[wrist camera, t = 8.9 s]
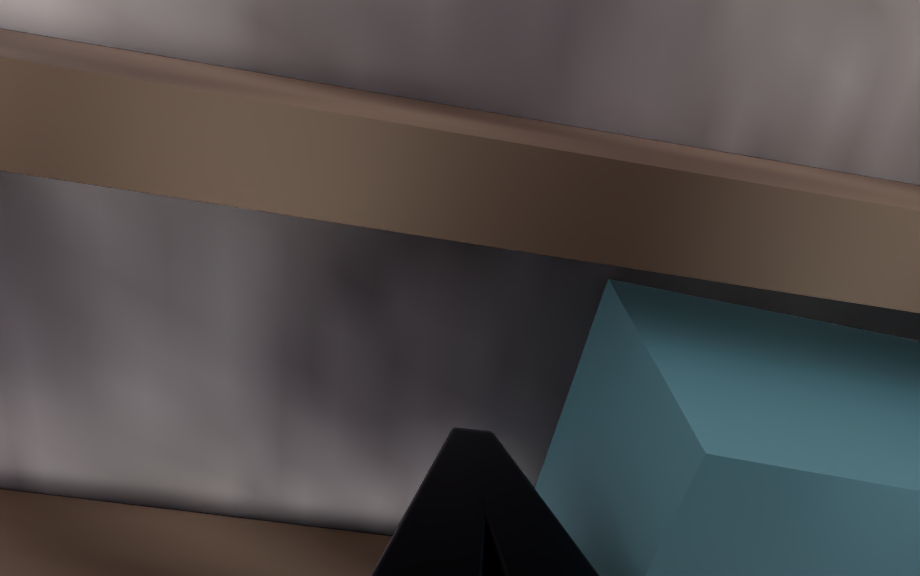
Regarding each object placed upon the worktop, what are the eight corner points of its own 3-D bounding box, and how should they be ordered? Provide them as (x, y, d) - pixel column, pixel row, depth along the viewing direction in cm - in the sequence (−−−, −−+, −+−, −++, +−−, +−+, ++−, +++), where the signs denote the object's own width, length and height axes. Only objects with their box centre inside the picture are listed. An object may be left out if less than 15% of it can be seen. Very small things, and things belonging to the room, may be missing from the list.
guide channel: (-49, 528, 11) (-212, 690, 9) (-200, -6, 7) (-588, -21, 5) (911, 639, 13) (1035, 810, 10) (1217, 236, 9) (1563, 335, 6)
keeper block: (526, 511, 11) (558, 749, 8) (607, 279, 9) (705, 453, 5) (861, 565, 12) (1040, 811, 8) (1009, 358, 10) (1341, 565, 6)
